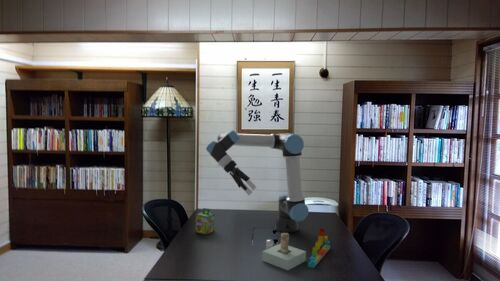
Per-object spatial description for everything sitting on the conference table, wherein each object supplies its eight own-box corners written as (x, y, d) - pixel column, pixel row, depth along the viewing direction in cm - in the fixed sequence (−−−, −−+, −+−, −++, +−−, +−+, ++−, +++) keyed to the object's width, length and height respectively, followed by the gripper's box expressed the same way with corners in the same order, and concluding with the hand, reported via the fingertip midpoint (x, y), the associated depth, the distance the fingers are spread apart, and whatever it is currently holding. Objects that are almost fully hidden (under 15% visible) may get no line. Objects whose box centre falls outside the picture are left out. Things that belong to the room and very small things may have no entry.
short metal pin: (269, 247, 191) (269, 238, 190) (274, 249, 188) (274, 240, 188) (264, 249, 188) (264, 240, 187) (270, 251, 185) (270, 242, 185)
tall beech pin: (283, 258, 175) (284, 232, 175) (289, 260, 173) (290, 234, 172) (278, 260, 172) (279, 234, 172) (284, 263, 170) (285, 236, 169)
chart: (313, 268, 165) (315, 239, 164) (307, 267, 166) (308, 237, 166) (330, 248, 192) (331, 223, 191) (324, 247, 193) (326, 222, 192)
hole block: (280, 252, 184) (281, 243, 184) (305, 260, 173) (306, 251, 173) (262, 260, 172) (262, 251, 172) (287, 270, 161) (288, 260, 161)
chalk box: (195, 232, 211) (195, 209, 210) (202, 228, 220) (202, 206, 219) (207, 235, 208) (208, 211, 207) (214, 230, 216) (215, 208, 215)
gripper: (228, 165, 205) (252, 191, 203) (217, 171, 181) (243, 200, 179) (237, 157, 204) (260, 182, 202) (226, 162, 179) (253, 191, 177)
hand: (252, 191), depth 190 cm, fingers open, 13 cm apart
